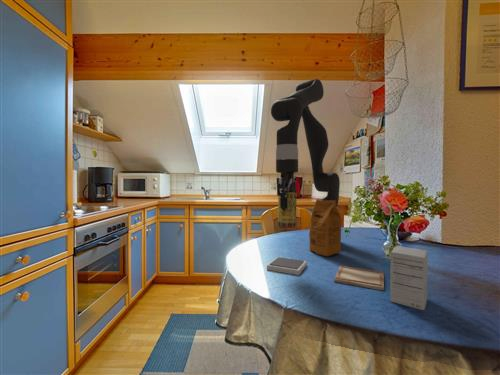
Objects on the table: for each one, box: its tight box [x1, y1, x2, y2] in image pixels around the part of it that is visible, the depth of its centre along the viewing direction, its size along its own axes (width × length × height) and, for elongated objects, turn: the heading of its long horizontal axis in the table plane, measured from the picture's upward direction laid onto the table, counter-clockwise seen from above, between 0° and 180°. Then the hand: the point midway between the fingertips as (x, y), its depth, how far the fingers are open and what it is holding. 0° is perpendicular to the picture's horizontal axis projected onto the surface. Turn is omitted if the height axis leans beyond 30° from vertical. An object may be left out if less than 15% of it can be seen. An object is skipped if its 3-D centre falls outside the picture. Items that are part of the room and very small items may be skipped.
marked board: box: [333, 265, 385, 291], centre depth 78 cm, size 13×13×1 cm
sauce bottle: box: [277, 173, 298, 229], centre depth 87 cm, size 7×6×20 cm
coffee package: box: [308, 198, 342, 257], centre depth 105 cm, size 10×12×22 cm
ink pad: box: [266, 256, 308, 276], centre depth 88 cm, size 10×11×2 cm
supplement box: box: [389, 245, 429, 311], centre depth 64 cm, size 7×7×13 cm
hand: (287, 207), depth 87 cm, fingers closed on sauce bottle, 6 cm apart
